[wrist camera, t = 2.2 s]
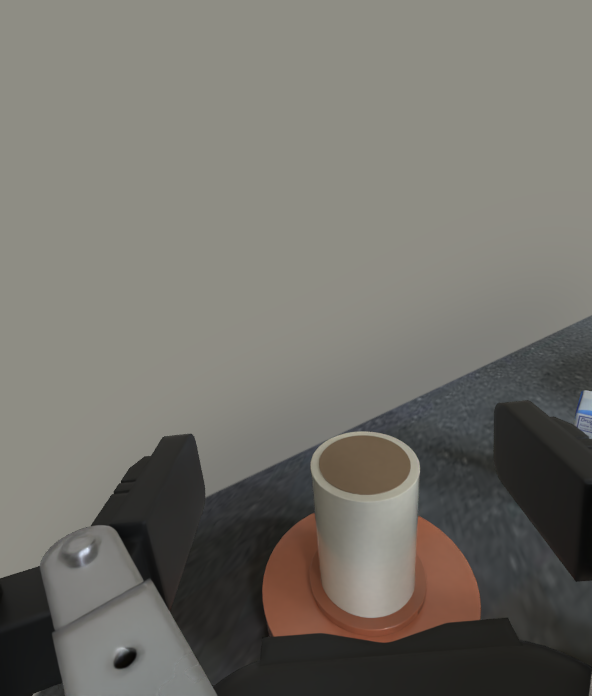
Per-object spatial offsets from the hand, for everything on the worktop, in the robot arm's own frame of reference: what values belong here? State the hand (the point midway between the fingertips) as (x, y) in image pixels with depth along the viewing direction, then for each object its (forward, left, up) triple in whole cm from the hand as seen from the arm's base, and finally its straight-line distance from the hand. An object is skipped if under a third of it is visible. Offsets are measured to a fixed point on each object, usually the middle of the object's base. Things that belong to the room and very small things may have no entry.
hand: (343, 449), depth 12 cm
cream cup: (+1, +11, -18) cm, 21 cm away
